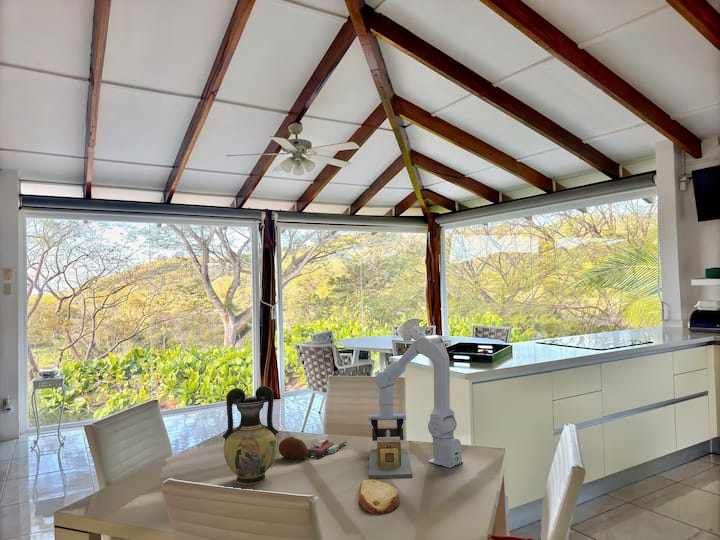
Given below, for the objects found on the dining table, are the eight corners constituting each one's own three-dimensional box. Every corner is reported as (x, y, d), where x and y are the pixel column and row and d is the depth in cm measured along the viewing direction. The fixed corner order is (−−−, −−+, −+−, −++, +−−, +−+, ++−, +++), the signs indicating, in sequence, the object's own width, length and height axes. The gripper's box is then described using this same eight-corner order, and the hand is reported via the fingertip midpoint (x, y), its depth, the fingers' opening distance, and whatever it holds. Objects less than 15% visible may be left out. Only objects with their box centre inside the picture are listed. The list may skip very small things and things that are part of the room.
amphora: (226, 493, 144) (225, 393, 147) (220, 476, 160) (219, 385, 162) (283, 484, 151) (281, 387, 153) (272, 468, 166) (271, 380, 169)
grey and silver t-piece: (372, 439, 187) (372, 428, 187) (403, 438, 187) (402, 427, 187) (371, 456, 166) (371, 443, 166) (406, 456, 165) (406, 442, 166)
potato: (304, 462, 171) (303, 440, 172) (274, 461, 174) (273, 439, 174) (311, 456, 179) (310, 434, 179) (282, 455, 181) (281, 433, 182)
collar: (380, 465, 162) (380, 447, 163) (398, 465, 162) (397, 447, 162) (380, 467, 161) (380, 448, 161) (398, 466, 161) (397, 448, 161)
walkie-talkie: (323, 461, 174) (348, 445, 192) (323, 448, 174) (348, 434, 192) (303, 458, 178) (329, 443, 196) (303, 446, 178) (328, 432, 196)
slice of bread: (369, 484, 150) (368, 471, 150) (418, 496, 139) (417, 482, 139) (330, 503, 136) (330, 490, 136) (382, 519, 125) (381, 504, 125)
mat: (369, 453, 179) (369, 450, 179) (407, 452, 179) (407, 449, 179) (368, 478, 153) (368, 475, 154) (412, 477, 153) (412, 474, 153)
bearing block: (377, 459, 168) (377, 437, 169) (400, 459, 168) (399, 436, 169) (377, 465, 162) (377, 442, 163) (401, 465, 162) (400, 441, 163)
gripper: (404, 400, 188) (406, 436, 187) (368, 401, 189) (369, 437, 188) (405, 404, 181) (407, 441, 180) (367, 405, 182) (368, 442, 181)
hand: (387, 439), depth 183 cm, fingers open, 7 cm apart
